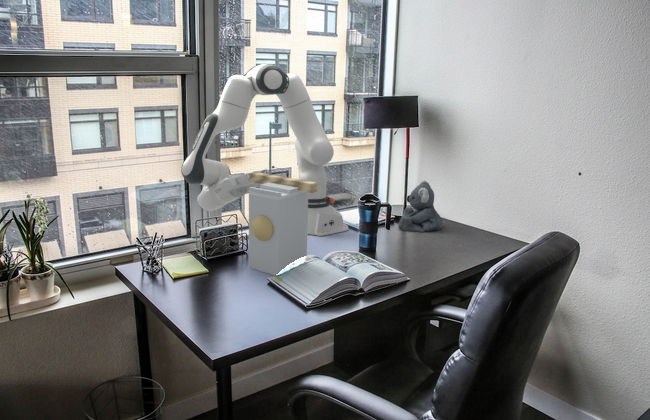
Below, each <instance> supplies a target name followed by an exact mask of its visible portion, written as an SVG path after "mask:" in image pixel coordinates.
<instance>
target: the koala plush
mask: <svg viewBox="0 0 650 420" xmlns="http://www.w3.org/2000/svg"><path fill="white" fill-rule="evenodd" d="M406 201H407V203H409V205H410V207H409V206H406V207H405V208H404V210H403V214H402V216H401V218H399V222H398V225H397V227H398V229H399V230H401V231H406V232H419V233H424V232H430V231H439V230H441V228H442V227H443V226H444V224H443V219H442V217H441V215H440V214H439V213H438V212H437V209H435V206H434V202H435V192H434V190H433V189H432V186H431V184H430V183H429V182H428V181H427V180H422V181H421V182H420V183H419V184H418V185H417V186H416V187H415V188H413V190H412V191H411V192H410V194H409V195H407V197H406Z"/></svg>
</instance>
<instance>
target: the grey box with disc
mask: <svg viewBox="0 0 650 420" xmlns="http://www.w3.org/2000/svg"><path fill="white" fill-rule="evenodd" d="M307 222H308V192H303V191H298V187H292V186H286V185H281V184H275V183H265V184H260V185H259V188H258V187H255V188H254V187H249V193H248V268H249V269H250V270H251V269H252V270H254V271H255V270H256V271H258V272H262V273H266V274H269V275H272V276H275V275H276V274H278V273H279V272H280V271H281V270H282V269H284V268H285V267H286V266H287V265H289V264H290V263H292V262H294V261H295V260H297V259H299V258H301V257H304V256H308V253H307V252H308V251H307V250H308V234H307Z"/></svg>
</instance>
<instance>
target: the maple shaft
mask: <svg viewBox="0 0 650 420" xmlns="http://www.w3.org/2000/svg"><path fill="white" fill-rule="evenodd" d="M249 173H250V175H251V178H250V179H249V182H253V183H259V184H260V185H261V184H265V183H275V184H281V185H286V186H292V187H298V191H303V192H308V193H314V192H317V182H312V181H306V180H300V179H299V178H293V177H287V176H282V175H276V174H270V173H269V174H264V173H258V171H253V172H249Z"/></svg>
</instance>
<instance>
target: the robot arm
mask: <svg viewBox="0 0 650 420" xmlns="http://www.w3.org/2000/svg"><path fill="white" fill-rule="evenodd" d="M307 90H308V89H307V88H306V86H305V84H304V83H303V80H302V78H301V77H300V76H299V75H298V74H297V73H293V72H292V73H290V72H289V73H286V72H285V71H284V70H282V69H281V68H280V67H278V66H277V65H274V64H272V63H268V64H266V63H262V64H259V65H255V66H253V67H251V68H250V69H249V70H247V72H245V74H243V75H241V74H235V75H232V76H230V77H229V78H228V80H227V82H226V83H225V86H224V87H223V91H222V93H221V95H220V99H219V102H218V105H217V106H216V108H215V110H214V111H213V112H212V113H210V114H208V115H207V116H206V118H205V119H204V121H203V123H202V125H201V127H200V129H199V131H198V133H197V136H196V138H195V140H194V142H193V144H192V147H191V148H190V151H189V153H188V154H187V156H186V158H185V159H184V161H183V162H182V163H181V167H180V168H181V169H180V171H181V175H182V177H183V178H184V180H185V182H186V183H188V184H190V185H201V186H203V187H202V189H201V191H200V192H199V194H198V195H197V198H196V199H197V200H196V201H197V204H198V205H199V206H200V207H201V208H202V210H204V211H208V212H212V211H216V210H217V211H218V210H219V209H221V208H224V207H225V206H227V205H228V204H230V203H232V202H234V201H237V200H239V199H240V198H242V197H244V196H245V195H247V194H249V187H254V188H258V186H259V187H260V185H261V184H259V183H253V182H249V179H250V178H251V175H250V173H251V172H247V173H244V174H241V175H235V174H231V169H230V167H229V166H228V164H227V163H225V162H224V161H223V162H222V161H218V160H214V159H209V158H206V156H207V153H208V151H209V149H210V146H211V144H212V143H213V140H214V138H215V137H216V136H217V135H219V134H221V133H223V132H228V131H229V132H230V131H234V130H237V129H239V128H241V127H243V126H244V124H245V122H246V120H247V118H248V116H249V111H250V108H251V106H252V105H251V104H252V101H253V99H254V98H255V97H256V96H257V95H259V96H260V95H261V96H273V95H275V96H276V97H277V98H278V99H279V101H280V104H281V108H282V109H283V112H284V114H285V117H286V119H287V122H288V124H289V127H290V129H291V131H292V132H293V134H294V136H295V137H296V140H295V142H294V143H295V144H294V146H295V152H296V163H297V169H298V179H300V180H306V181H312V182H317V192H314V193H308V222H307V235H314V236H317V237H318V236H319V237H323V236H328V235H333V234H337V233H342V232H346V231H349V225H347V224H346V223H344V217H343V215H342V213H341V212H340V211H338V209H335V207H334V206H332V205H331V204H334V203H335V199H334V198H333V197H330V196H327V183H328V182H327V181H328V180H327V179H328V178H327V174H326V169H325V165H326V164H327V165H328V163H330V162H331V161H332V159H333V157H334V152H335V151H334V147H333V145H332V143H331V141H330V139H329V138H328V135H327V134H326V132H325V129H324V128H323V125H322V123H321V121H320V120H319V118H318V116H317V114H316V110H315V107H314V105H313V103H312V100H311V98H310V96H309V95H310V94H309V92H308V91H307ZM257 172H258V173H264V174H270V172H269V170H268V169H267V168H265V169H263V170H259V171H257ZM330 203H331V204H330Z"/></svg>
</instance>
